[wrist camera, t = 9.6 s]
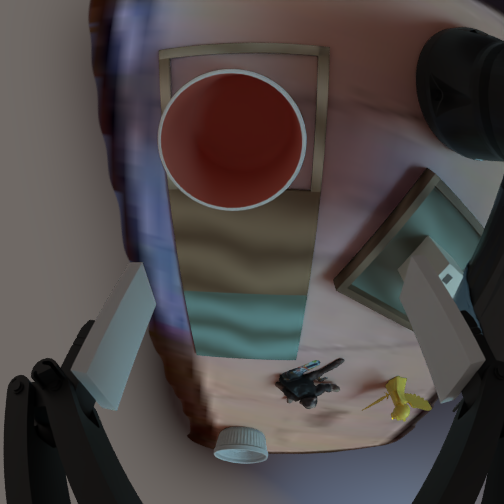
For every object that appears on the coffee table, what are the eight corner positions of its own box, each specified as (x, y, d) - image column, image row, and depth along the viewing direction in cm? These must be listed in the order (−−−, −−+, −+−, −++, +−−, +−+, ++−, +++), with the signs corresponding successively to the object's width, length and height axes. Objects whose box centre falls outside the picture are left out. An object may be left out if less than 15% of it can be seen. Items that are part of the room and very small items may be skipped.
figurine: (346, 396, 53) (351, 434, 45) (391, 366, 47) (402, 406, 39) (381, 406, 56) (387, 439, 48) (422, 379, 50) (433, 413, 42)
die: (427, 234, 31) (449, 263, 26) (451, 256, 33) (472, 285, 28) (396, 269, 34) (412, 301, 29) (422, 287, 36) (438, 318, 31)
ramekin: (263, 423, 61) (262, 449, 55) (272, 440, 68) (271, 463, 62) (210, 423, 63) (206, 448, 57) (224, 441, 70) (222, 463, 64)
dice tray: (427, 167, 27) (435, 173, 26) (494, 243, 32) (501, 251, 30) (333, 280, 36) (335, 290, 35) (415, 325, 41) (419, 334, 39)
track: (160, 50, 23) (158, 50, 22) (328, 47, 22) (329, 47, 22) (197, 353, 46) (196, 355, 46) (295, 358, 45) (295, 360, 45)
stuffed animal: (269, 401, 52) (278, 409, 41) (275, 353, 56) (286, 350, 45) (327, 404, 53) (348, 412, 41) (332, 358, 56) (354, 355, 45)
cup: (211, 59, 23) (182, 50, 15) (310, 95, 25) (331, 104, 16) (179, 151, 29) (143, 185, 20) (271, 183, 30) (271, 230, 22)
